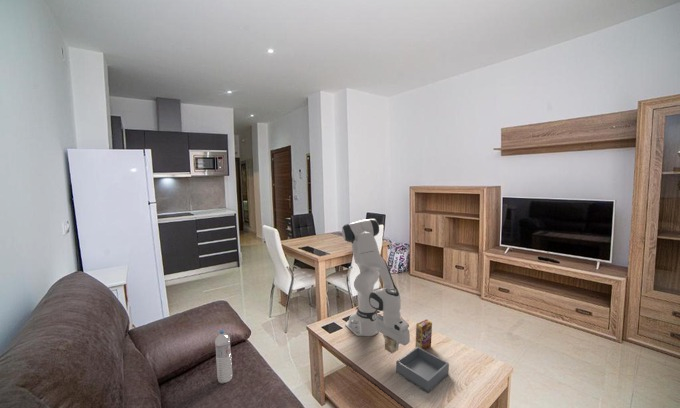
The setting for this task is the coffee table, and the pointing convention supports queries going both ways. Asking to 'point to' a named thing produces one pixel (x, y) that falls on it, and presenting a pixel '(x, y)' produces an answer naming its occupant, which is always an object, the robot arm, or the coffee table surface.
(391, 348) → the beech block
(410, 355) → the bin
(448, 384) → the coffee table surface
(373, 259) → the robot arm
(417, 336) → the candy box
